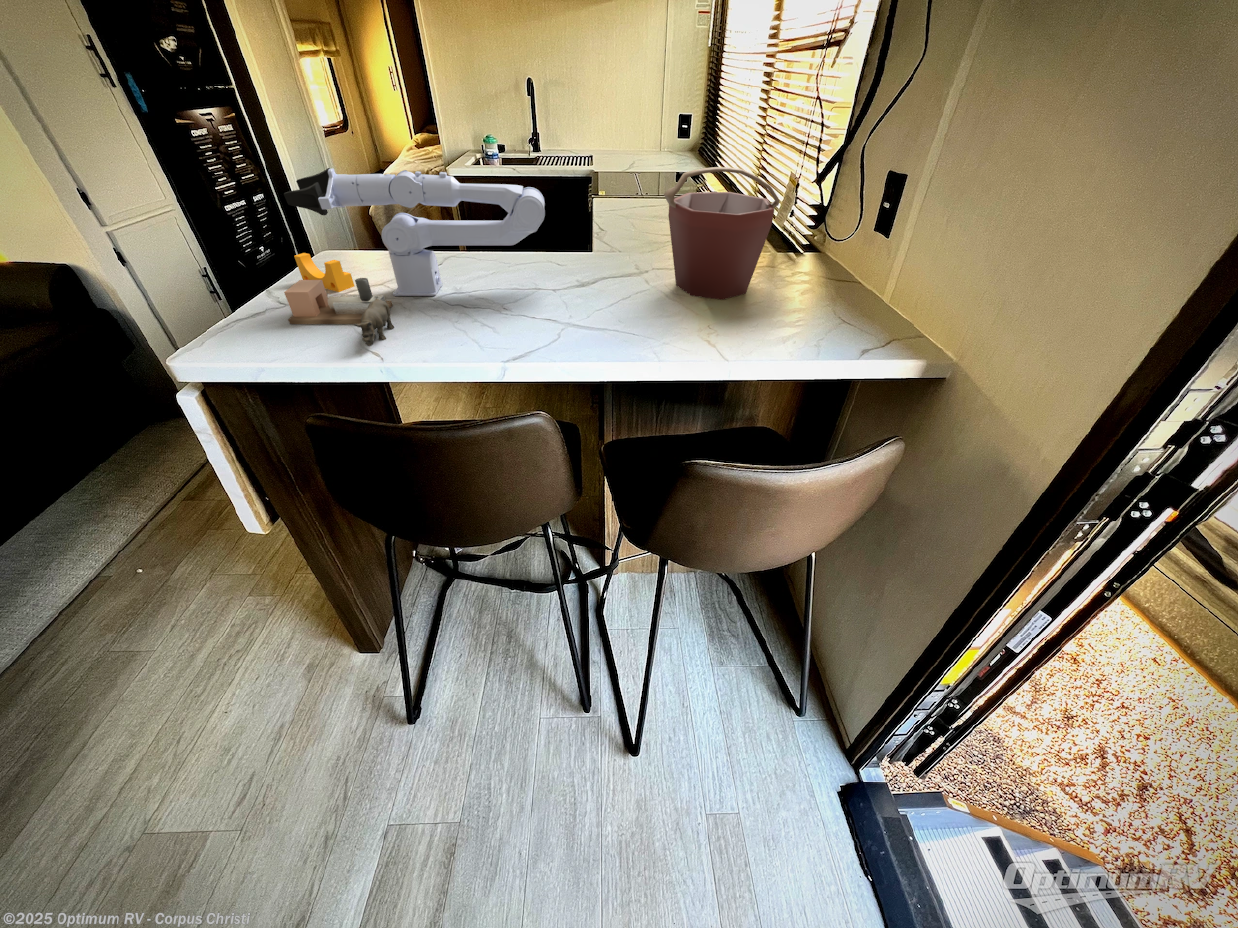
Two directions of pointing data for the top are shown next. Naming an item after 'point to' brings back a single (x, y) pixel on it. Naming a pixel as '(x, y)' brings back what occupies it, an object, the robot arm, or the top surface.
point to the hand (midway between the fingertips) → (292, 192)
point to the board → (329, 317)
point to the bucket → (717, 236)
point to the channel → (353, 305)
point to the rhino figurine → (375, 321)
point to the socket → (306, 297)
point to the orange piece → (331, 277)
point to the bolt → (363, 293)
